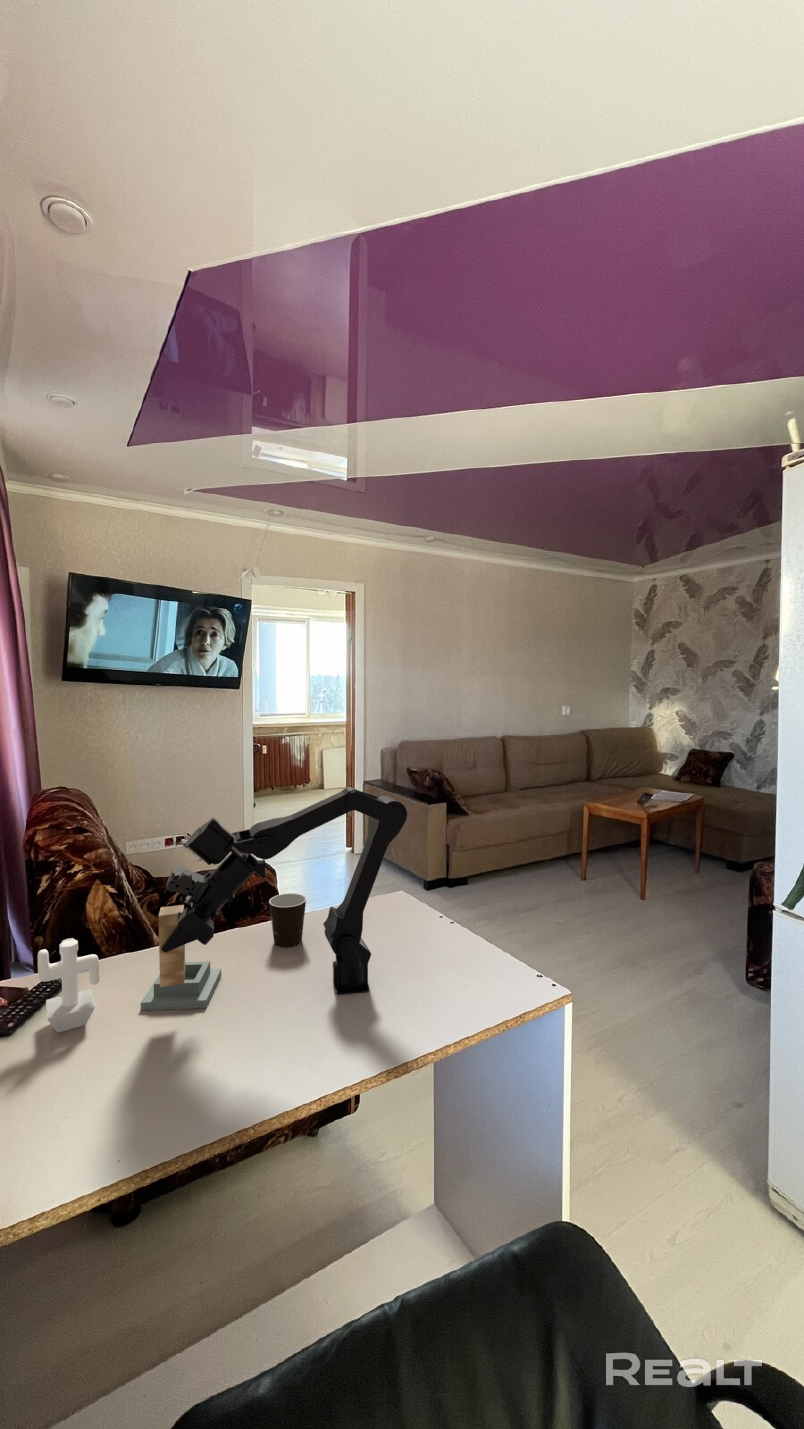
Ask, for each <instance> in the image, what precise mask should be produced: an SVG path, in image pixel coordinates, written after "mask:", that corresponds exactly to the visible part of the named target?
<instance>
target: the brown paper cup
mask: <svg viewBox="0 0 804 1429" xmlns="http://www.w3.org/2000/svg"><path fill="white" fill-rule="evenodd" d="M268 904H269V911H270V912H269V913H270V920H271V927H272V936H273V944H274V945H275V946H276V947H279V948H285V949H286V948H293V947H296V946H298V945H300V944H301V943H302V940H303V932H304V930H303V929H304V923H305V913H306V905H307V897H306V896H305V895H303V894H300V893H282V894H278V895H274V896H273V897H271V898H270V899H269V900H268Z"/></svg>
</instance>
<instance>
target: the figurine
mask: <svg viewBox="0 0 804 1429" xmlns="http://www.w3.org/2000/svg"><path fill="white" fill-rule="evenodd" d="M78 941H79V940H77V939H75V938H73V937H71V938H66V939H63V940H61V943H60V944H59V946H58V947H59V955H60V960H59V961H57V962H54V963H53V962H52V963H50V959H49V958H50V957H49V956H50V954H49V951H48V950H47V949H46V948H45V949H40V950H39V951H38V952H37V973H38V979H39V981H40V982H43V983H44V982H50V981H53V980H54V981H55V980H58V979H61V994H62V995H61V996H57V997H52V998H49V999H48V998H47V999H46V1000H45V1006H46V1016H47V1021H48V1022H49V1024H50V1025H51V1026H52V1027H53V1029H54V1030H55V1031H56V1033H57V1034H60V1033H63V1032H65V1031H67V1032H68V1031H70V1030H73V1029H76V1028H80V1027H84V1026H86V1025H87V1024H88V1022H89V1019H90V1018H91V1015H92V1014H93V1012H94V1010H95V1008H96V1003H95V999H94V995H93V990H92V988H91V987H90V988H87V989H82V990H79V988H78V987H79V986H78V985H79V984H78V982H79V980H78V977H79V976H78V975H79V974H83V973H88V976H89V984H91V985H93V986H95V985H97V984H99V982H100V960H99V957H98V955H97V954H96V953H95V954H93V953H92V954H88V955H84V956H78V950H79V942H78Z"/></svg>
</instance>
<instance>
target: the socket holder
mask: <svg viewBox="0 0 804 1429" xmlns="http://www.w3.org/2000/svg"><path fill="white" fill-rule="evenodd" d="M221 977H222V968H221V967H220V968H211V961H209V960H208V961H207V960H206V961H205V960H204V961H185V979H184V984H177V985H171V986H164V987H160V974H159V975H158V976H157V977H156V979H155V980H154V982H153V984H152V985H151V987H150V988H149V990H148V991H147V992H146V994H145V995H144V997H143V998H142V1000H141V1001H140V1011H158V1010H162V1011H163V1010H183V1009H184V1010H185V1009H187V1010H189V1009H207V1007H208V1006H209V1003H210V1001H211V999H212V997H213V994H214V993H215V991H216V988H217V986H218V984H219V982H220V980H221Z"/></svg>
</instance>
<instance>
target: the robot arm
mask: <svg viewBox="0 0 804 1429" xmlns="http://www.w3.org/2000/svg"><path fill="white" fill-rule="evenodd" d="M352 811H355V812H358V813H361V814H363V815H366V816H368V826H367V828H368V829H367V838H366V840H365V843H364V846H363V848H362V851H361V853H360V856H359V859H358V861H357V864H356V867H355V870H354V872H353V875H352V877H351V880H350V883H349V885H348V888H347V889H346V890H347V891H346V893H345V896H344V899H343V901H342V902H341V903H340V904H339V906H338V907H337V908H336V907H334V906H330V907H329V910H328V915H327V918H326V920H325V921H324V922H323V927H324V936H325V938H326V940H327V942H328V944H329V946H330V948H331V950H332V952H333V954H335V960H334V961H332V985H333V987H334V988H335V992H336V994H337V995H349V994H358V993H359V994H360V993H369V992H370V985H369V962H370V959H371V956H372V952H371V950H370V949H369V947H368V946H367V944H366V943H365V941H364V940H363V937H362V935H363V928H364V926H363V925H364V912H365V909H366V906H367V902H368V901H369V897H370V896H371V893H372V890H373V887H374V885H375V882H376V880H377V877H378V875H379V874H378V873H379V871H380V868H381V866H382V863H383V860H384V858H385V856H386V852H387V850H388V847H390V845H391V843H392V842H393V841H394V840H395V839H396V838H397V837H398V836H399V834H400V833H401V831H402V829H403V827H404V825H405V824H406V822H407V819H408V810H407V808H406V806H405V805H404V804H403V803H402V802H400V801H398V800H397V799H395V798H393V797H392V796H390V795H386V794H385V795H381V796H378V795H377V796H376V795H373V794H372V793H371V794H370V793H367V792H364V791H362V790H359V789H357V788H355V787H353V786H347V787H345V788H343V789H342V790H341V791H339V792H337V793H335V794H333V795H330V796H329V797H326V798H325V799H322V800H320V801H318V802H316V803H313V804H311V805H309V806H307V807H305V808H303V809H301V810H298V811H297V812H294V813H292V814H290V815H286V816H282V817H281V816H280V817H274V818H270V819H266V820H264V821H260V822H257V823H255V824H254V825H252V826H251V827H250V828H248V829H244V830H240V831H239V830H238V831H235V832H232V833H230V831H228V829H227V828H225V827H224V826H222V825H221V823H220V822H219V821H218V820H217V819H216V818H215V817H211V818H210V820H208V821H207V822H205V823H203V824H202V825H201V826H200V827H198V828H196V829H195V830H194V832H193V833H192V834H191V835H190V837H189V838H188V839H187V841H185V845H184V847H186V848H188V850H190V851H191V852H192V853H193V854H195V855H196V857H198V858H199V859H201V860H202V861H203V862H204V863H206V864H207V865H208V866H210V865H212V864H213V866H215V865H218V866H217V867H216V868H215V869H214V870H210V871H209V870H208V871H207V872H206V873H205V874H204V875H202V874H201V873H198V872H196V871H193V870H190V869H187V868H184V867H181V866H178V865H176V866H175V865H174V867H173V869H172V871H171V873H170V875H169V877H168V880H167V882H166V886H165V889H166V890H167V891H169V892H171V893H174V892H176V893H178V894H182V895H181V897H180V904H179V905H184V911H183V912H182V914H181V913H180V912H178V918H177V920H178V925H177V926H176V928H175V929H174V931H173V932H172V933H171V935H170V936H169V938H168V939H167V941H166V942H165V943H164V945H163V946H162V948H161V950H162V951H163V952H165V953H166V952H169V951H171V950H173V949H175V948H178V947H180V946H182V945H185V946H186V945H187V944H189V943H191V942H194V941H198V942H199V943H201V944H202V945H203V946H204V945H205V946H206V945H207V944H208V943H209V942H210V941H211V940H212V939H213V938H214V934H215V933H214V930H215V926H214V925H215V923H214V920H216V919H217V918H218V917H219V911H220V910H221V909H222V908H223V907H224V906H225V904H226V903H227V902H228V901H229V902H230V903H231V902H233V900H234V899H235V897H236V896H235V894H236V893H237V892H238V890H240V889H241V887H242V886H244V885H245V884H246V882H247V881H248V880H249V879H250V878H252V876H253V875H254V874H255V873H256V874H257V876H259V877H260V878H262V879H265V878H266V876H267V875H266V867H267V862H266V860H270V859H272V858H274V857H275V856H277V855H278V854H280V853H281V852H283V851H284V850H285V849H287V848H288V847H289V846H291V844H292V843H293V842H295V840H296V839H298V838H299V837H301V836H303V835H305V834H307V833H308V832H311V831H312V830H315V829H318V828H319V827H321V826H323V825H325V824H327V823H329V822H331V821H334V820H336V819H337V818H339V817H342V816H344V815H346V814H348V813H350V812H352ZM257 858H258V859H257ZM184 895H185V896H186V897H185V896H184Z"/></svg>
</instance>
